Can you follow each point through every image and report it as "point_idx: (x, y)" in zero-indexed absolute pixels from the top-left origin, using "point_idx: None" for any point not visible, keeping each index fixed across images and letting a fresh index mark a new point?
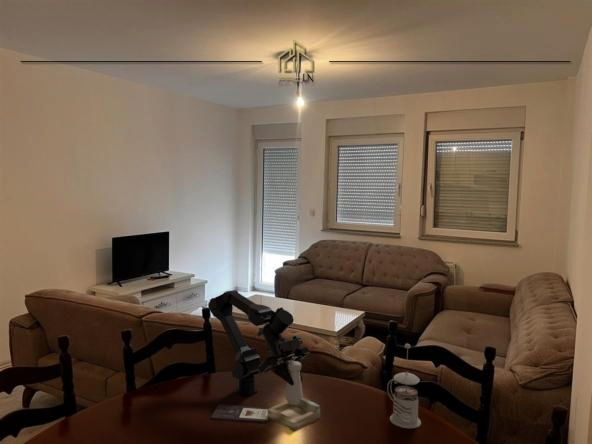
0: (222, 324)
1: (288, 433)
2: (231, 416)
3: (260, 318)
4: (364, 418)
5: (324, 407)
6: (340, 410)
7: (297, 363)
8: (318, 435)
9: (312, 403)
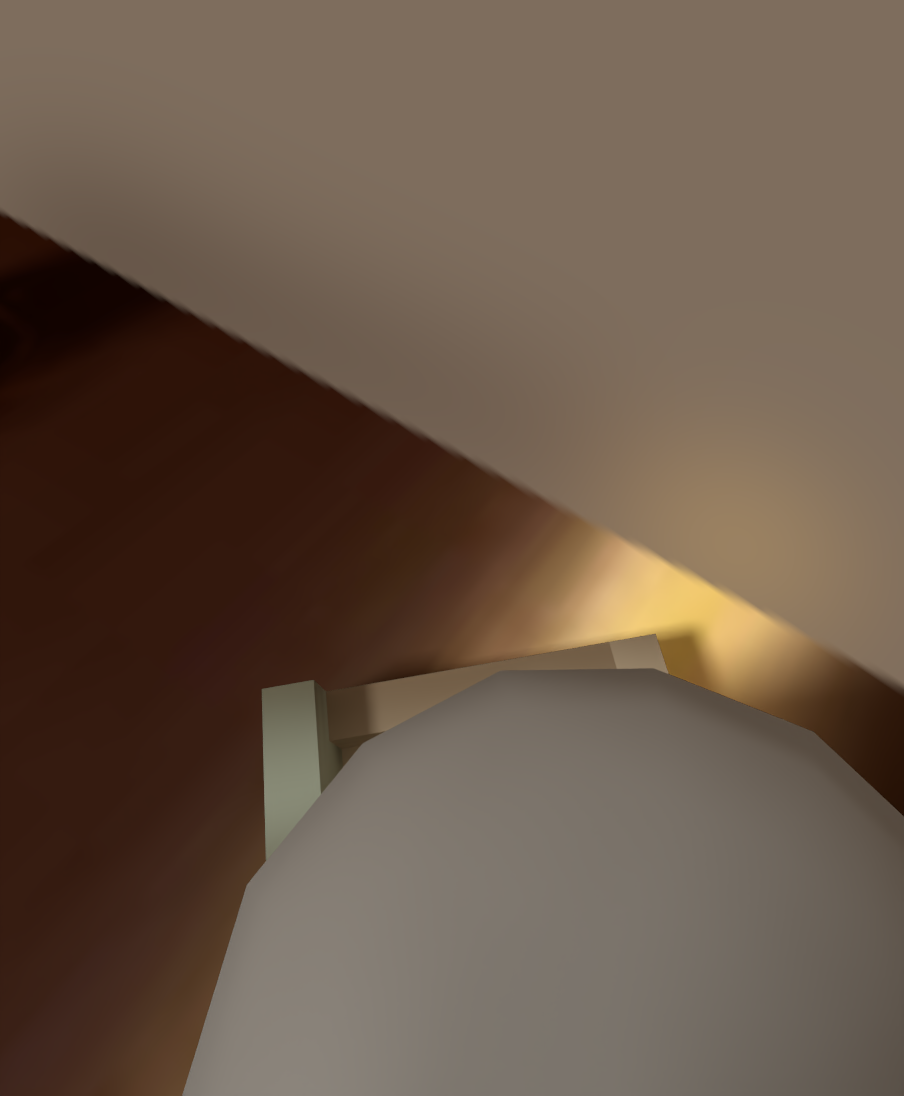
0: None
1: (692, 653)
2: None
3: None
4: (43, 513)
5: (107, 864)
6: (53, 717)
7: (552, 839)
8: (494, 512)
9: (292, 784)
